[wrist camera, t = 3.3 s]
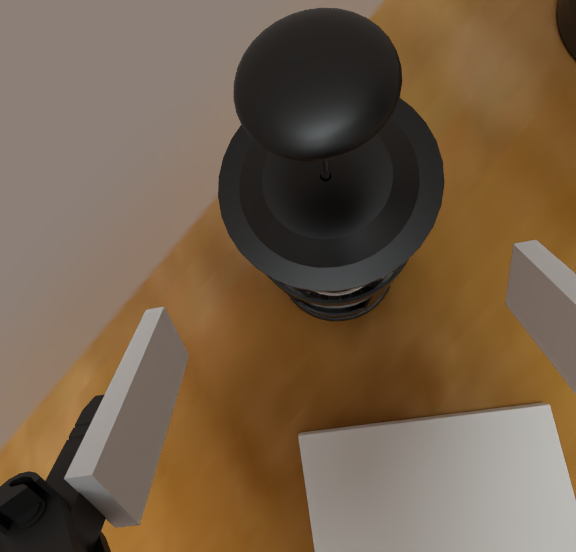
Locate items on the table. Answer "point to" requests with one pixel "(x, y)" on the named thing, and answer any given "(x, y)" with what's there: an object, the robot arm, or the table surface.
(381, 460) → the white square mat
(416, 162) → the french press
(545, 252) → the robot arm
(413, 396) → the table surface
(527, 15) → the table surface
